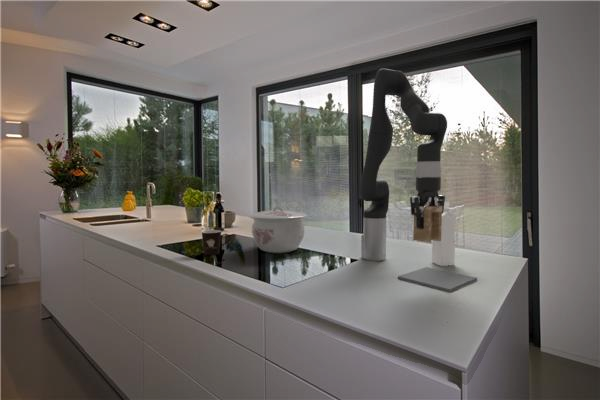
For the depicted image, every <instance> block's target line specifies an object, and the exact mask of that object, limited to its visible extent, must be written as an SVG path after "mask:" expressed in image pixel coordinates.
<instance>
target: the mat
mask: <svg viewBox="0 0 600 400" xmlns="http://www.w3.org/2000/svg"><path fill="white" fill-rule="evenodd" d="M397 279H398V280H402V281H406V282H409V283H413V284H417V285H421V286H425V287H429V288H433V289H436V290H441V291H445V292H449V293H451V292H453V291H456V290H458V289H461V288H463V287H464V286H466V285H469V284H471V283H473V282H476V281H477V280H478V277H475V276H471V275H466V274H461V273H457V272H451V271H447V270H442V269H437V268H433V267H428V266H426V267H423V268H419V269H416V270H413V271H409V272H407V273H403V274H400V275H398V276H397Z"/></svg>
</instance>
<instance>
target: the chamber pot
mask: <svg viewBox="0 0 600 400" xmlns="http://www.w3.org/2000/svg"><path fill="white" fill-rule="evenodd" d="M308 216H309V215H308V213H305V212H301V211H295V210H290V209H289V210H288V209H287V210H286V209H283V208H282V207H281V206H275V207H274V208H273V209H272V210H262V211H258V212H254V213H251V214H249V215H248V217H249V218H250V219H253V223H252V225H251V233H252V239H253V241H254V242H255V244H256V245H257V247H258V248H259V249H260V250H261V251H262V252H266V253H267V254H268V253H269V254H286V253H291V252H293V251H295V250H297V249H298V248H299V246H300V245H301V243H302V242H303V240H304V237H305V236H304V235H305V227H306V226H305V224H304V222H303V219H304V218H307V217H308Z"/></svg>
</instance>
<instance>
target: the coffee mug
mask: <svg viewBox="0 0 600 400" xmlns="http://www.w3.org/2000/svg"><path fill="white" fill-rule="evenodd" d="M224 236H227V237H228V239H227V241H225V242H224V243H223V244H221V241H222V240H221V239H222V238H223V237H224ZM201 237H202V238H201V239H202V244H203V252H204V255H206V256H214V255H215V256H216V255H219V254H220V249H221V248H222V247H223V246H225V245H226V244H227V243H228V242H229V241H230V239H231V237H230V235H229V234H228V233H223V234H222V230H219V229H209V230H208V229H207V230H202V231H201Z"/></svg>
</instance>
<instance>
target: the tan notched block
mask: <svg viewBox="0 0 600 400" xmlns="http://www.w3.org/2000/svg"><path fill="white" fill-rule="evenodd" d="M419 207H424V206H419ZM421 211H422V210H420V213H421ZM415 212H416V208H415ZM423 218H424V228H423V229H418V228H417V226H416V224H417V223H416V216H415V215H413V241H417V242H422V243H423V242H424V243H426V244H430V243H432V240H434V241H441V225H442V206H427V207H426V209H425V210H424V217H423Z"/></svg>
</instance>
